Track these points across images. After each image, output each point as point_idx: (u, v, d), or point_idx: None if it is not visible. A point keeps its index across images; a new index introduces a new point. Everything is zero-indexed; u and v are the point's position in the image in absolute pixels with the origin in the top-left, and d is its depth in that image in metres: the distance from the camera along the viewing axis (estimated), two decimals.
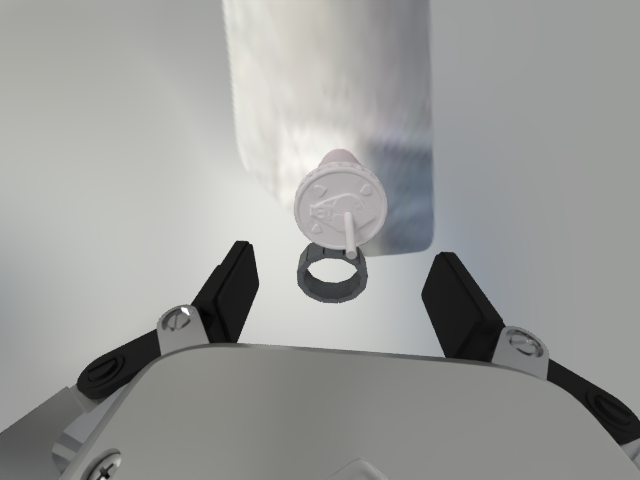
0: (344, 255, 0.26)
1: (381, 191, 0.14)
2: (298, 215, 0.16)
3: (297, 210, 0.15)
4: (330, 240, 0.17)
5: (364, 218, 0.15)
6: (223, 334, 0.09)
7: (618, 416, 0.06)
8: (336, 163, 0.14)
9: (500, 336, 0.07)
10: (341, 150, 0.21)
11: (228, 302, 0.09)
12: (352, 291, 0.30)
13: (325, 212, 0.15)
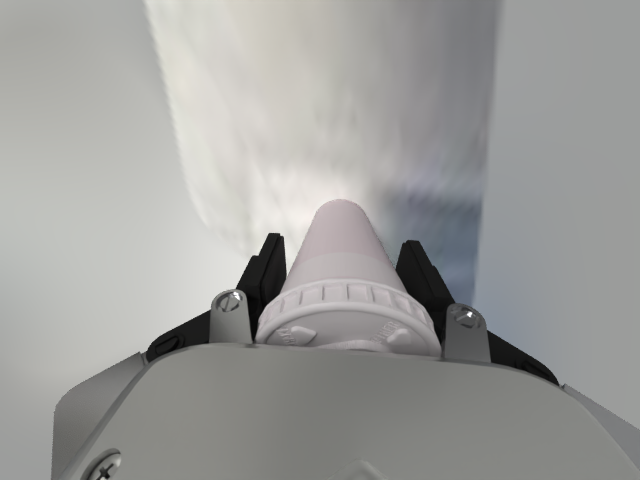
0: None
1: (433, 341, 0.07)
2: None
3: None
4: None
5: None
6: None
7: None
8: (337, 283, 0.07)
9: (445, 311, 0.08)
10: (343, 205, 0.14)
11: (269, 288, 0.09)
12: None
13: None
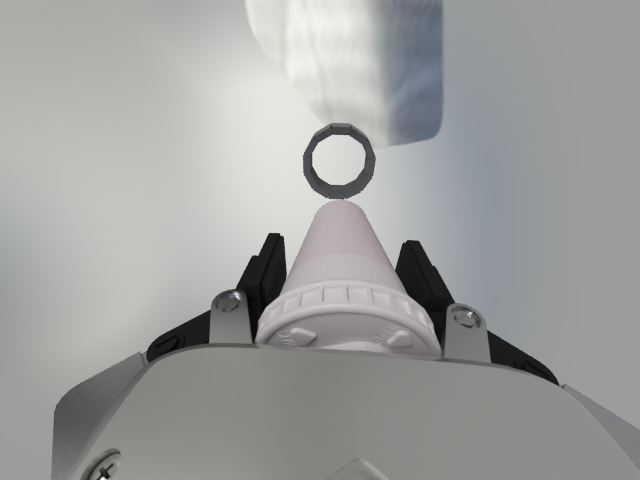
0: (352, 130, 0.25)
1: (433, 343, 0.07)
2: None
3: None
4: None
5: None
6: None
7: None
8: (337, 284, 0.07)
9: (445, 311, 0.08)
10: (344, 205, 0.14)
11: (269, 288, 0.09)
12: (359, 183, 0.29)
13: None
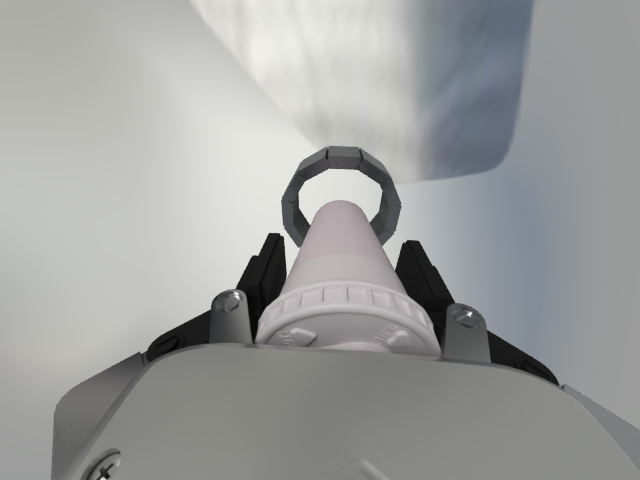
0: (363, 161, 0.15)
1: (433, 343, 0.07)
2: None
3: None
4: None
5: None
6: None
7: None
8: (337, 285, 0.07)
9: (445, 311, 0.08)
10: (343, 205, 0.14)
11: (269, 288, 0.09)
12: None
13: None
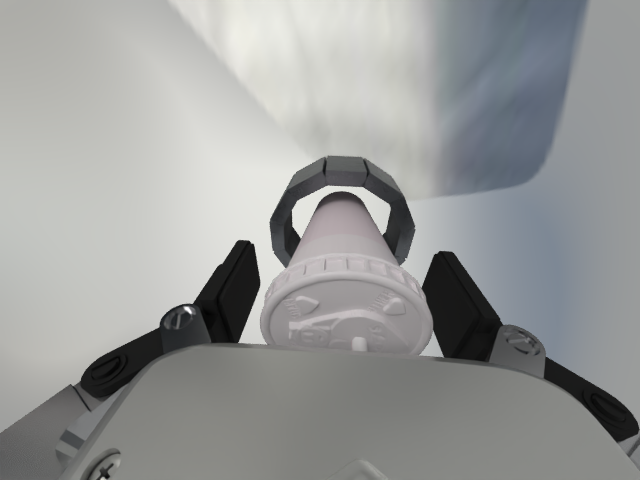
0: (369, 177, 0.12)
1: (424, 310, 0.07)
2: (269, 335, 0.09)
3: (266, 329, 0.09)
4: None
5: (388, 347, 0.08)
6: (225, 333, 0.09)
7: (614, 414, 0.06)
8: (337, 256, 0.07)
9: (497, 335, 0.07)
10: (344, 195, 0.14)
11: (230, 301, 0.09)
12: None
13: (316, 336, 0.08)
